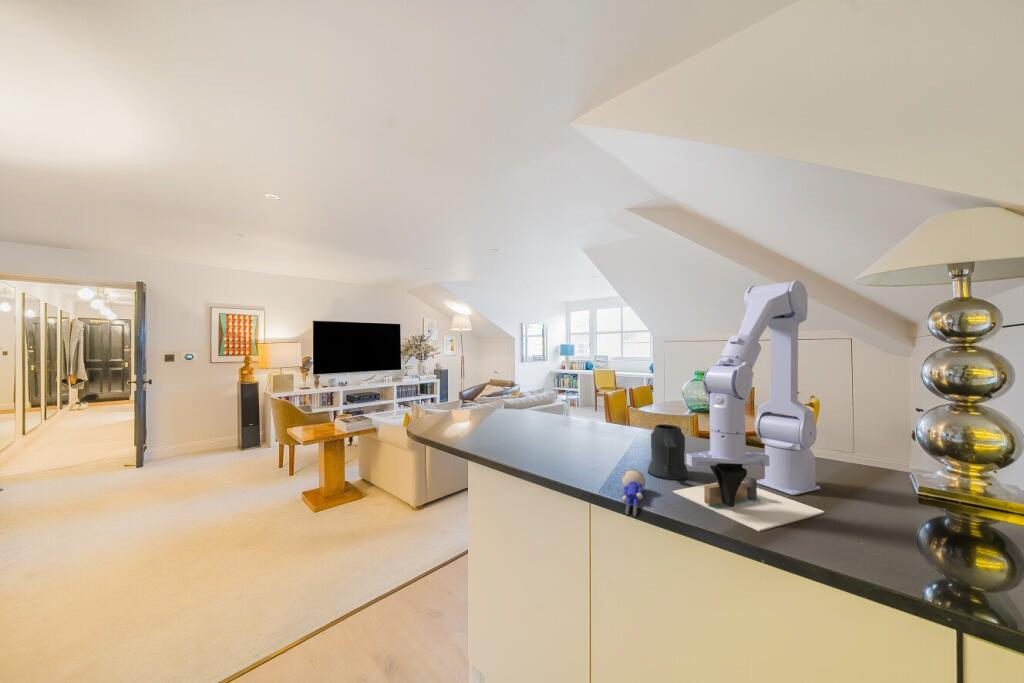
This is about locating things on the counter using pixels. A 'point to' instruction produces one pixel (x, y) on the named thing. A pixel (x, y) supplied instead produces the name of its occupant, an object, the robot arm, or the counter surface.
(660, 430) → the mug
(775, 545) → the counter surface
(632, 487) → the toy
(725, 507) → the mat
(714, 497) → the swing panel
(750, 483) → the post and fixed rail
